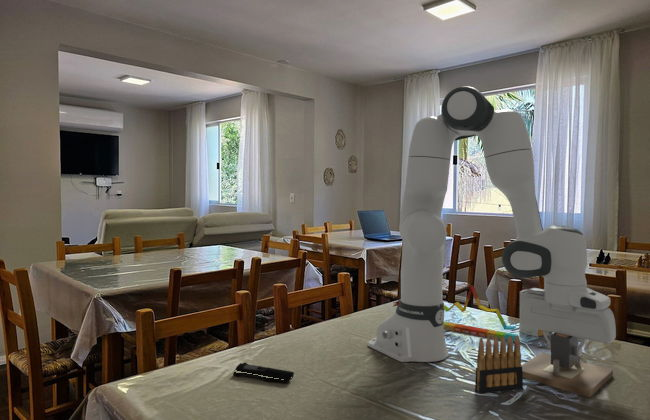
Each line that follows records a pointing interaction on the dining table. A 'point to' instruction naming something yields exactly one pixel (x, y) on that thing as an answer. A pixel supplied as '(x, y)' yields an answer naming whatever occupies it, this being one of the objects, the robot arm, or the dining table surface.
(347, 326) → the dining table surface
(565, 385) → the board
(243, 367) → the electric trimmer
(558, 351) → the plug block
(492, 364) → the ammunition clip
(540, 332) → the small box
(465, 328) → the chart
